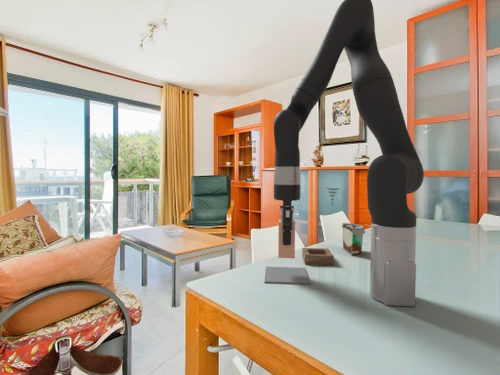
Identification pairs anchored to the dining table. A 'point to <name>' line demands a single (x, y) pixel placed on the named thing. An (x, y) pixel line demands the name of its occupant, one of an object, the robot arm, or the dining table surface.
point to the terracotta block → (286, 250)
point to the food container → (352, 238)
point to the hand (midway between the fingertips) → (286, 242)
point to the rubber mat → (286, 275)
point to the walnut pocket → (317, 256)
